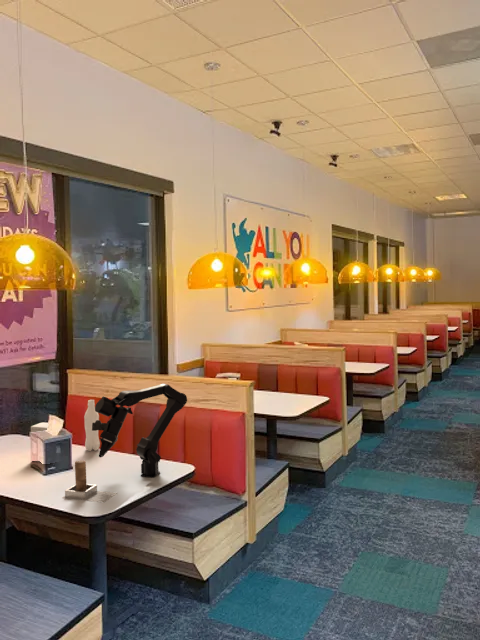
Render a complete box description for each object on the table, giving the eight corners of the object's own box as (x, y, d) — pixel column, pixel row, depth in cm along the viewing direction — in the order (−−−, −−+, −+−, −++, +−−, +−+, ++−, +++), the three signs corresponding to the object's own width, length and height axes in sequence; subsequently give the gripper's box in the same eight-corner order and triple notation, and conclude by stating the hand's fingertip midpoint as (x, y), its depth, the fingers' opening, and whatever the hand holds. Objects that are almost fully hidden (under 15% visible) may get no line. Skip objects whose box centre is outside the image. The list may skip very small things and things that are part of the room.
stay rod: (87, 491, 219) (86, 460, 218) (86, 495, 215) (84, 463, 214) (76, 492, 218) (75, 460, 217) (75, 496, 214) (74, 464, 213)
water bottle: (102, 448, 284) (101, 399, 283) (94, 452, 278) (93, 402, 276) (90, 447, 287) (89, 398, 286) (82, 451, 280) (80, 401, 279)
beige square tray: (97, 491, 219) (97, 484, 219) (85, 499, 211) (84, 492, 211) (77, 489, 222) (77, 483, 222) (65, 497, 214) (64, 490, 213)
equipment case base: (117, 496, 217) (117, 492, 217) (104, 506, 208) (104, 502, 208) (76, 492, 222) (76, 488, 222) (61, 501, 213) (61, 498, 213)
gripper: (99, 413, 240) (84, 448, 236) (96, 412, 222) (79, 449, 218) (124, 423, 241) (108, 458, 237) (123, 422, 223) (106, 460, 219)
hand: (100, 456), depth 228 cm, fingers open, 9 cm apart
